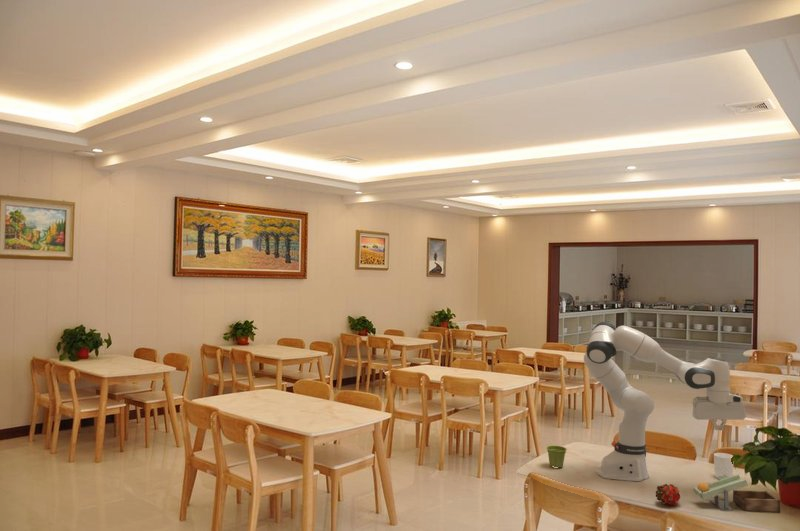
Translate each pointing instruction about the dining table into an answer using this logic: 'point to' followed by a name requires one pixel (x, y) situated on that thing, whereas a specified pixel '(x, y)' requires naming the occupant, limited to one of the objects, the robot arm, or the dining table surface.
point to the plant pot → (556, 455)
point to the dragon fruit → (668, 494)
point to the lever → (721, 486)
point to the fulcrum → (720, 503)
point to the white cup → (723, 464)
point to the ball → (703, 487)
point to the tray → (756, 501)
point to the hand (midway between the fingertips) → (719, 430)
